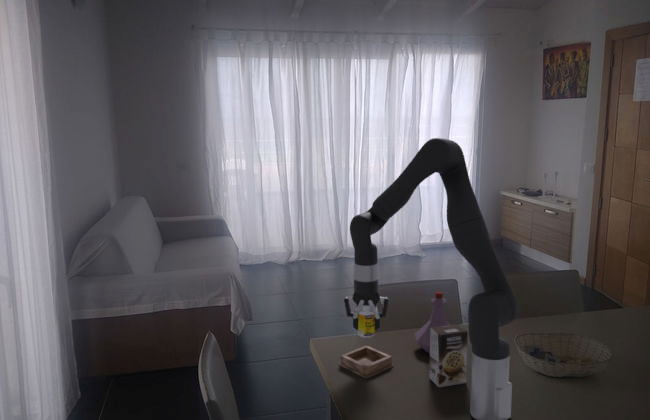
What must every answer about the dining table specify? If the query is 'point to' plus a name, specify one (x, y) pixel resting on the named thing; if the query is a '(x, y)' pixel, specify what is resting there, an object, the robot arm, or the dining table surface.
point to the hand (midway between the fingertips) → (366, 328)
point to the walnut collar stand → (366, 361)
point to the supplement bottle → (366, 322)
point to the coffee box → (448, 355)
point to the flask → (432, 321)
